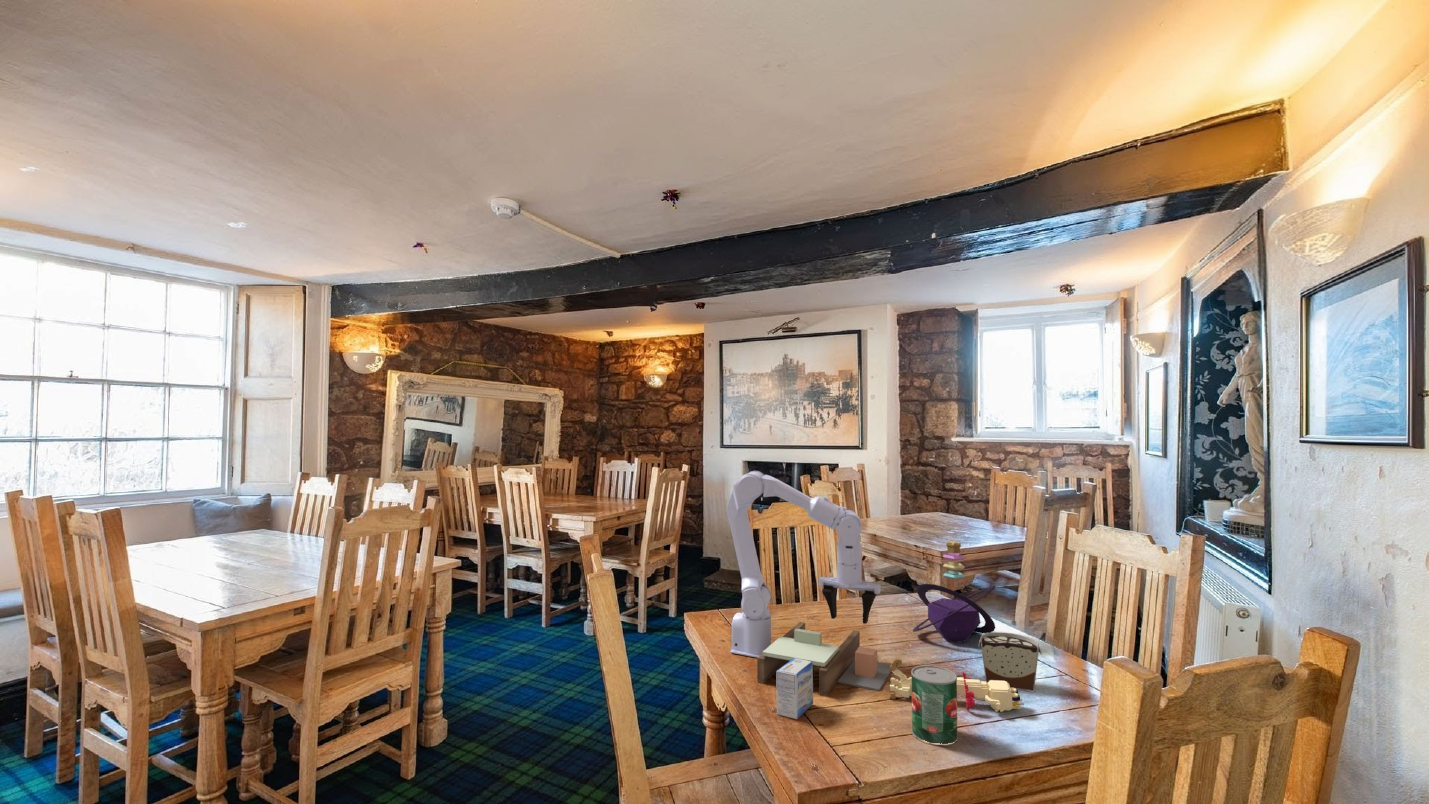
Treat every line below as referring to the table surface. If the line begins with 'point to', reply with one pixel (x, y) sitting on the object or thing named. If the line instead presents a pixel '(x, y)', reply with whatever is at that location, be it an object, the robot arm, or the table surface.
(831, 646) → the cover
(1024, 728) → the table surface
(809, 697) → the medicine box
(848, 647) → the brown wooden frame
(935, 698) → the canned tomato
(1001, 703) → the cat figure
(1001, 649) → the food container
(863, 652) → the block
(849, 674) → the mat
